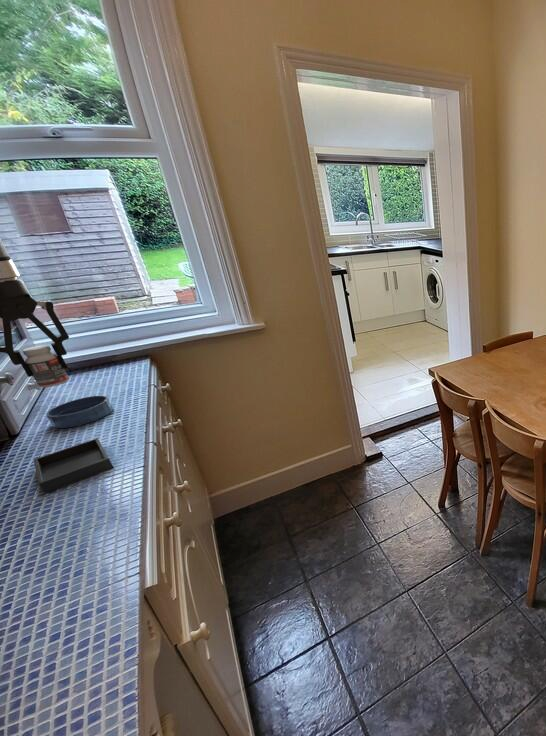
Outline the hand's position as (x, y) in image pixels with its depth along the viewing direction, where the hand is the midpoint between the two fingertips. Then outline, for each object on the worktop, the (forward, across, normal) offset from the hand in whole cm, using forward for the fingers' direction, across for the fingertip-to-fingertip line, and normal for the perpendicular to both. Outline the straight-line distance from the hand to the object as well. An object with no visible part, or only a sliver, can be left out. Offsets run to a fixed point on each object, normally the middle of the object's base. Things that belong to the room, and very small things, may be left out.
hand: (48, 371), depth 106 cm
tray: (+17, -3, -26) cm, 32 cm away
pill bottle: (+4, 0, 0) cm, 4 cm away
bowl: (+17, +2, +8) cm, 19 cm away
